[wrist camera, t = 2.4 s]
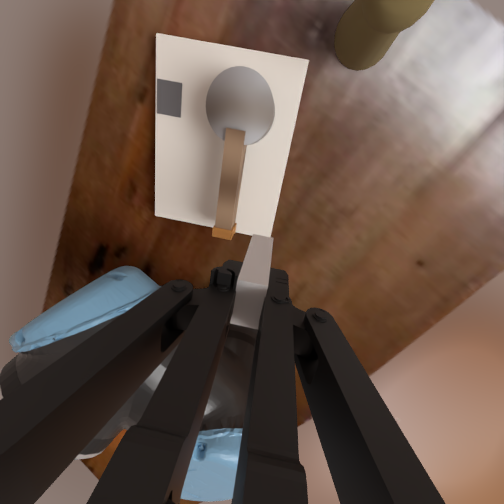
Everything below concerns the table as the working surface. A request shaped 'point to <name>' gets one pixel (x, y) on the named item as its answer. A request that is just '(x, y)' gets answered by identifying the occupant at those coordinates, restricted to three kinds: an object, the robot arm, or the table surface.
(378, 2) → the olive pawn
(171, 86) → the base plate
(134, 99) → the table surface
